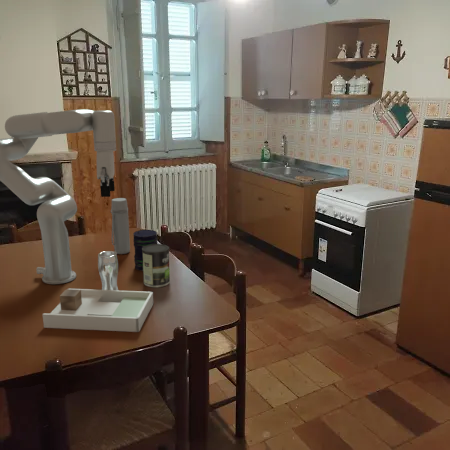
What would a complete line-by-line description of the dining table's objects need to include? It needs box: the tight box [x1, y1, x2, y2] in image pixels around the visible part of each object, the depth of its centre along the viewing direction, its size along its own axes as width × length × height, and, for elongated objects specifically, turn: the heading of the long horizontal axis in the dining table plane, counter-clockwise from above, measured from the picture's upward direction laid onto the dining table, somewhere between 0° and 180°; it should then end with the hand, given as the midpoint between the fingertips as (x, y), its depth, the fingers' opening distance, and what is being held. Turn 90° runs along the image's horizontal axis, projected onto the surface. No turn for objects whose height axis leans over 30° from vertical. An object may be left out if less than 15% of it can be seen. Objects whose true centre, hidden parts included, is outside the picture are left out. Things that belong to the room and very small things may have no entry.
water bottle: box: [110, 197, 131, 255], centre depth 202 cm, size 9×8×25 cm
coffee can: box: [142, 243, 171, 288], centre depth 171 cm, size 10×10×14 cm
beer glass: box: [97, 250, 119, 290], centre depth 161 cm, size 7×7×15 cm
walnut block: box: [59, 288, 82, 311], centre depth 146 cm, size 5×5×5 cm
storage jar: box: [132, 229, 159, 272], centre depth 187 cm, size 10×10×15 cm
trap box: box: [42, 287, 155, 333], centre depth 146 cm, size 30×20×4 cm, turn 86°
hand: (108, 193), depth 162 cm, fingers open, 9 cm apart
